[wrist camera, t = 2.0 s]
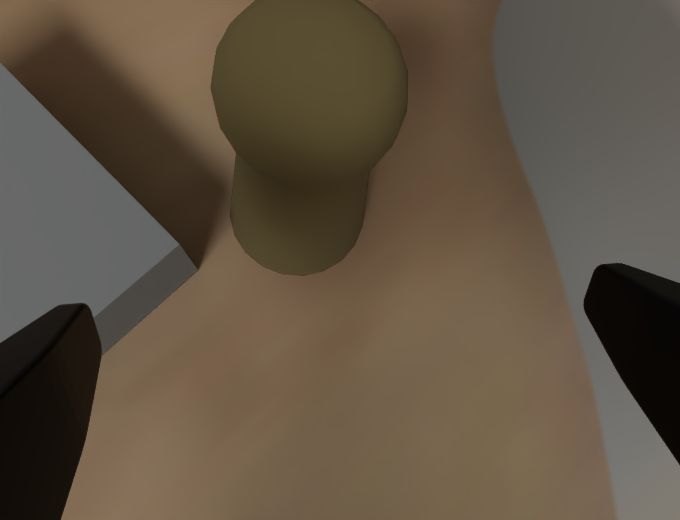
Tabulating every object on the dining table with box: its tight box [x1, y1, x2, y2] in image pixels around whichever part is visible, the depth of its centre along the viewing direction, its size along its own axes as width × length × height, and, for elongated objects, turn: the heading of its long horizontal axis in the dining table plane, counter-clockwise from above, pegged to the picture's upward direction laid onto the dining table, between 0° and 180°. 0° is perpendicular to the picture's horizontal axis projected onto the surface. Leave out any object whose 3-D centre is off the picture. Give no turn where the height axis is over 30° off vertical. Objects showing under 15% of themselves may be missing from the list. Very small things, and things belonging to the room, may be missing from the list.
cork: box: [211, 0, 408, 276], centre depth 16 cm, size 6×6×11 cm
